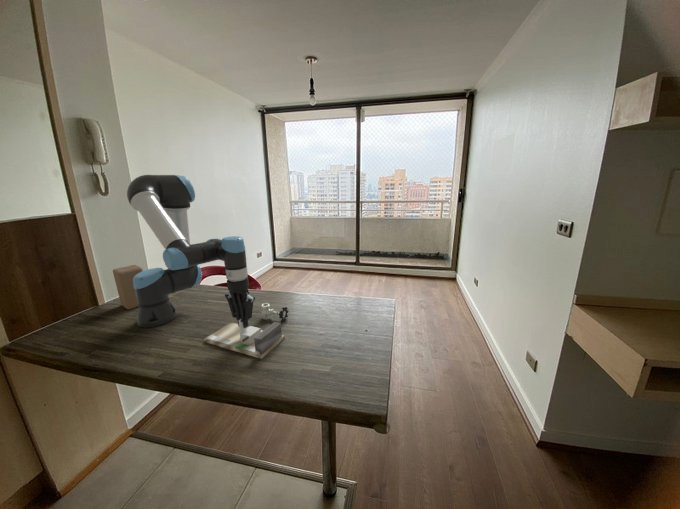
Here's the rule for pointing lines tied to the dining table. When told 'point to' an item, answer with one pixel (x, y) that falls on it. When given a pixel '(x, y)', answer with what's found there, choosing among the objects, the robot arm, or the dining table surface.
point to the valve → (273, 312)
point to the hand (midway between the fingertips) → (244, 334)
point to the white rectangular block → (249, 334)
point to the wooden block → (127, 285)
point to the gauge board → (258, 348)
